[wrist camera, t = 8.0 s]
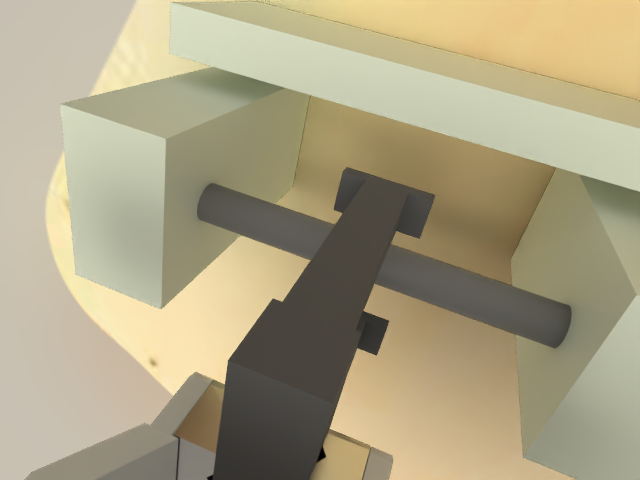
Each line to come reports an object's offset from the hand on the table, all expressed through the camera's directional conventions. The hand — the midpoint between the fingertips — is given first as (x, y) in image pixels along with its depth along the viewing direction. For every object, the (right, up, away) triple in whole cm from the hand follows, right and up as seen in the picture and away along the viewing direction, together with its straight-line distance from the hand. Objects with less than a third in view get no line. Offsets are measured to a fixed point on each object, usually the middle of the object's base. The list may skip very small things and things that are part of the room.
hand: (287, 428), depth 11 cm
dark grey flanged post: (+2, +3, +6) cm, 8 cm away
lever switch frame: (+6, +10, +15) cm, 19 cm away
